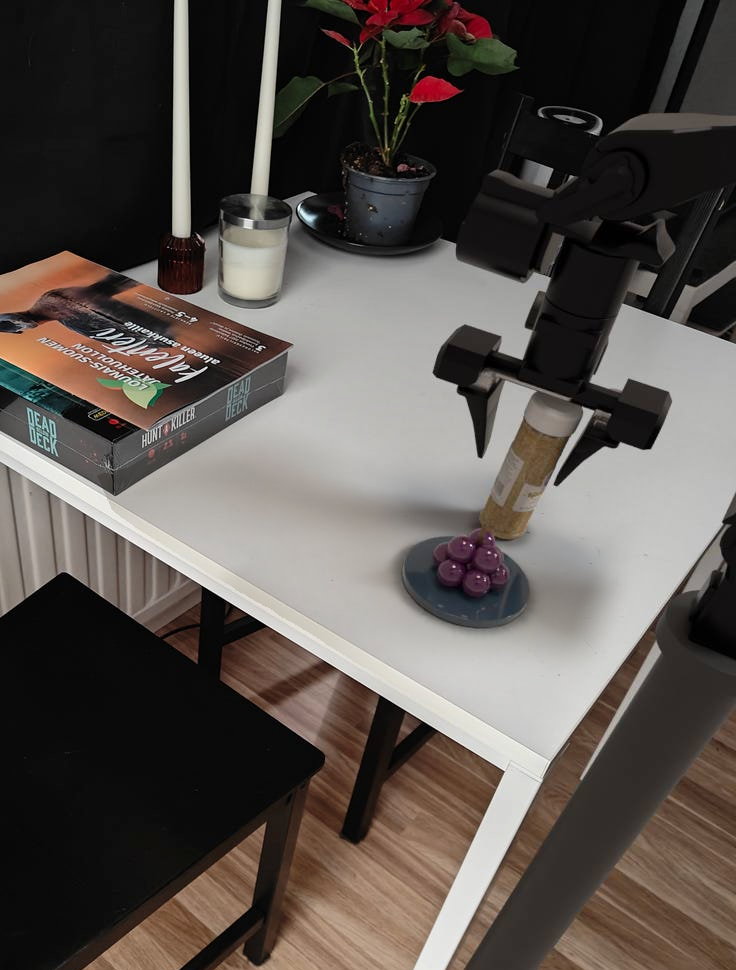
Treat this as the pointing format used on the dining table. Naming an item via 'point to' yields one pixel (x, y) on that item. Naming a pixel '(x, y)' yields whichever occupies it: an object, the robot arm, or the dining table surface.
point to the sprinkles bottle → (529, 464)
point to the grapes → (466, 579)
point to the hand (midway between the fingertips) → (518, 469)
